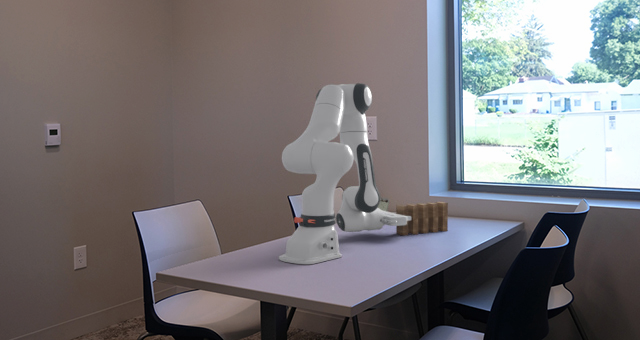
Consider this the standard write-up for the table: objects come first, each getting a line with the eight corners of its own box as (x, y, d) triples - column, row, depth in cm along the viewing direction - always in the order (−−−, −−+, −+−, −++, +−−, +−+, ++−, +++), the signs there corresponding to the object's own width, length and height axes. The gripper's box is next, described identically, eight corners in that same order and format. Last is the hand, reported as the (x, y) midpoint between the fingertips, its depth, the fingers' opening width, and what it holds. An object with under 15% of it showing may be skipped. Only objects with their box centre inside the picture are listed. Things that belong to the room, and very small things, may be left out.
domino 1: (403, 235, 216) (402, 206, 216) (396, 233, 221) (396, 205, 220) (408, 235, 217) (407, 206, 217) (401, 233, 222) (401, 204, 221)
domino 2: (413, 234, 218) (413, 205, 218) (406, 232, 223) (406, 204, 222) (418, 234, 219) (418, 205, 219) (411, 232, 224) (411, 204, 223)
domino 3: (423, 233, 221) (423, 204, 220) (416, 231, 225) (416, 203, 224) (428, 233, 222) (428, 204, 221) (421, 231, 226) (421, 203, 225)
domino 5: (443, 231, 225) (443, 203, 224) (435, 229, 229) (435, 202, 228) (447, 231, 226) (447, 203, 225) (440, 229, 230) (440, 201, 229)
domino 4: (433, 232, 223) (433, 204, 222) (426, 230, 227) (426, 202, 226) (438, 232, 224) (438, 203, 223) (430, 230, 228) (430, 202, 227)
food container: (389, 217, 265) (389, 197, 264) (389, 219, 259) (389, 198, 258) (364, 217, 266) (364, 197, 266) (364, 219, 260) (364, 198, 260)
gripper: (388, 214, 204) (418, 211, 209) (362, 208, 222) (390, 205, 228) (388, 230, 204) (418, 227, 210) (362, 223, 223) (390, 220, 228)
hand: (403, 216), depth 219 cm, fingers open, 8 cm apart
